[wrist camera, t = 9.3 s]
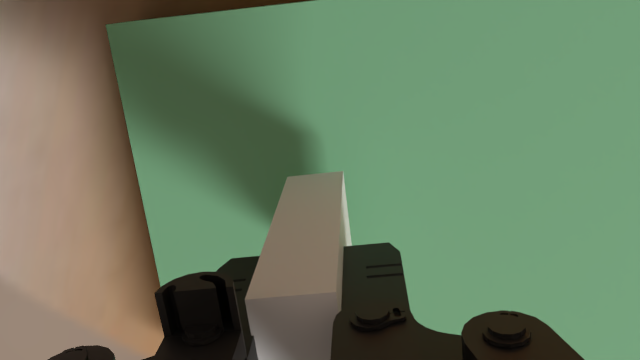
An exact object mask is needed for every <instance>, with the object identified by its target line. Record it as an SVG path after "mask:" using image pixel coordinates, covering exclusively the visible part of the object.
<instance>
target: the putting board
mask: <svg viewBox="0 0 640 360" xmlns="http://www.w3.org/2000/svg"><path fill="white" fill-rule="evenodd" d="M106 29H107V34H108V39H109V43H110V48H111V53H112V58H113V62H114V67H115V72H116V77H117V82H118V86H119V91H120V96H121V101H122V105H123V110H124V115H125V120H126V124H127V129H128V134H129V139H130V144H131V148H132V153H133V158H134V163H135V167H136V172H137V177H138V182H139V186H140V191H141V196H142V201H143V205H144V210H145V215H146V220H147V225H148V229H149V234H150V239H151V244H152V248H153V253H154V258H155V263H156V267H157V272H158V277H159V282H160V287H161V286H163V285H164V284H166V283H168V282H170V281H172V280H173V279H176V278H179V277H182V276H184V275H187V274H192V273H198V272H216V271H217V269H219V268H220V267H221V266H222V265H224V264H225V263H226V262H227V261H229V260H230V259H231V258H241V257H252V256H260V254H261V251H262V248H263V246H264V243H265V240H266V237H267V234H268V231H269V228H270V225H271V222H272V220H273V217H274V214H275V211H276V208H277V205H278V202H279V199H280V197H281V194H282V191H283V188H284V185H285V182H286V179H287V177H290V176H300V175H309V174H319V173H329V172H339V171H343V174H344V183H345V191H346V200H347V208H348V217H349V225H350V234H351V242H352V246H354V245H365V244H376V243H387V242H389V243H390V244H392V245H393V246H394V247H395V248H396V249H398V250H399V251H400V254H401V260H402V265H403V271H404V277H405V283H406V289H407V294H408V300H409V306H410V311H411V313H412V314H413V316H414V319H415V320H416V321H417V322H418V323H420V324H421V325H423V326H425V327H426V328H429V329H432V330H435V331H438V332H443V333H448V334H456V335H461V332H462V329H463V327H464V324H465V323H467V322H468V321H469V320H470V319H472V318H473V317H475V316H478V315H481V314H483V313H486V312H494V311H500V310H508V311H516V312H521V313H524V314H527V315H530V316H534V317H536V318H538V319H539V320H541V321H542V322H544V323H546V324H547V325H548V326H549V327H550V328H552V329H553V330H554V331H555V332H556V333H557V334H558V335H559V336H560V337H561V338H562V339H563V340H564V341H565V342H566V343H568V344H569V345H570V346H571V347H572V348H573V349H574V350H575V351H576V352H577V353H578V354H579V355H580V356H581V357H582V358H583V359H585V360H640V0H309V1H301V2H292V3H283V4H275V5H266V6H257V7H248V8H240V9H231V10H222V11H214V12H205V13H196V14H187V15H179V16H170V17H161V18H153V19H144V20H136V21H128V22H121V23H114V24H106Z"/></svg>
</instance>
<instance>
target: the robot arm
mask: <svg viewBox="0 0 640 360" xmlns="http://www.w3.org/2000/svg"><path fill="white" fill-rule="evenodd" d="M155 298H156V302H157V306H158V311H159V315H160V319H161V323H162V328H163V332H164V336H165V337H164V339H163V341H162V343H161V345H160V347H159V348H158V350H157V352H156V354H155V356H152V357H149V358H146V359H143V360H585V359H583V358H582V357H581V356H580V355H579V354H578V353H577V352H576V351H575V350H574V349H573V348H572V347H571V346H570V345H569V344H568V343H566V342H565V341H564V340H563V339H562V338H561V337H560V336H559V335H558V334H557V333H556V332H555V331H554V330H553V329H552V328H550V327H549V326H548V325H547V324H546V323H544V322H542V321H541V320H539V319H538V318H536V317H534V316H530V315H527V314H524V313H521V312H516V311H508V310H500V311H494V312H486V313H483V314H481V315H478V316H475V317H473V318H472V319H470V320H469V321H468V322H467V323H465V324H464V327H463V329H462V332H461V335H456V334H448V333H443V332H438V331H435V330H432V329H429V328H426V327H425V326H423V325H421V324H420V323H418V322H417V321H416V320H415V319H414V316H413V314H412V313H411V311H410V306H409V300H408V294H407V289H406V283H405V277H404V271H403V265H402V260H401V254H400V251H399V250H398V249H396V248H395V247H394V246H393V245H392V244H390V243H389V242H387V243H376V244H365V245H354V246H352V242H351V234H350V225H349V217H348V208H347V200H346V191H345V183H344V174H343V171H339V172H329V173H319V174H309V175H300V176H290V177H287V179H286V182H285V185H284V188H283V191H282V194H281V197H280V199H279V202H278V205H277V208H276V211H275V214H274V217H273V220H272V222H271V225H270V228H269V231H268V234H267V237H266V240H265V243H264V246H263V248H262V251H261V254H260V256H252V257H241V258H231V259H230V260H229V261H227V262H226V263H225V264H224V265H222V266H221V267H220V268H219V269H217V271H216V272H198V273H192V274H187V275H184V276H182V277H179V278H176V279H173V280H172V281H170V282H168V283H166V284H164V285H163V286H161V287H160V288H159V289H158V290H157V291H156V292H155ZM48 360H115V356H114V353H113V352H112V351H111V350H110V349H109V348H106V347H102V346H80V347H76V348H71V349H67V350H65V351H63V352H62V353H60V354H58V355H56V356H53V357H51V358H50V359H48Z"/></svg>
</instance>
